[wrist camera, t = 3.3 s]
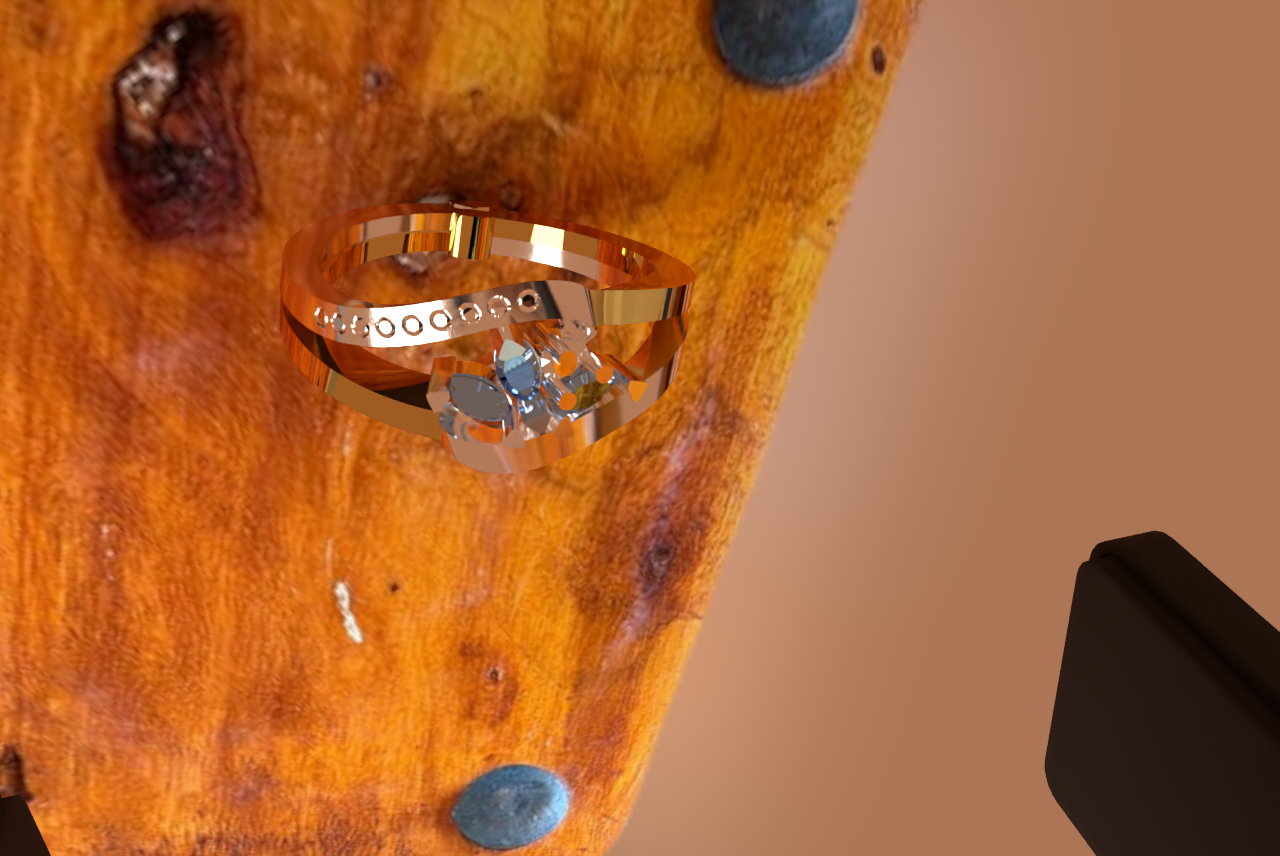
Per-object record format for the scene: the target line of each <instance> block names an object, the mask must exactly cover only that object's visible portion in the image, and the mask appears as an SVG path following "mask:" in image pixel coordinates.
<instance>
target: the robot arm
mask: <svg viewBox="0 0 1280 856" xmlns="http://www.w3.org/2000/svg"><path fill="white" fill-rule="evenodd" d="M1045 773H1046V778H1047V782H1048V785H1049V788H1050V790H1051V792H1052V795H1053V796H1054V798H1055V800H1056V801H1057V803H1058V804H1059V806H1060V807H1061V808H1062V809H1063V811H1064V812H1065V814H1066V815H1067V816H1068V818H1069V819H1070V821H1071V822H1072V823H1073V824H1074V826H1075V827H1076V829H1077V830H1078V831H1079V833H1080V834H1081V835H1082V837H1083V838H1084V839H1085V841H1086V842H1087V844H1088V845H1089V846H1090V848H1091V849H1092V850H1093V852H1094V853H1095V854H1096V856H1280V632H1279V631H1278V630H1277V629H1276V628H1274V627H1273V626H1272V625H1271V624H1270V623H1269V622H1268V621H1266V620H1265V619H1264V618H1263V617H1262V616H1261V615H1260V614H1258V613H1257V612H1256V611H1255V610H1254V609H1253V608H1252V607H1250V606H1249V605H1248V604H1247V603H1246V602H1245V601H1244V600H1242V599H1241V598H1240V597H1239V596H1238V595H1237V594H1236V593H1235V592H1233V591H1232V590H1231V589H1230V588H1229V587H1228V586H1227V585H1225V584H1224V583H1223V582H1222V581H1221V580H1220V579H1219V578H1217V577H1216V576H1215V575H1214V574H1213V573H1212V572H1210V571H1209V570H1208V569H1207V568H1206V567H1205V566H1204V565H1203V564H1201V563H1200V562H1199V561H1198V560H1197V559H1196V558H1195V557H1193V556H1192V555H1191V554H1190V553H1189V552H1188V551H1187V550H1186V549H1184V548H1183V547H1182V546H1181V545H1180V544H1179V543H1178V542H1176V541H1175V540H1174V539H1173V538H1171V537H1170V536H1168V535H1167V534H1165V533H1163V532H1159V531H1151V532H1146V533H1142V534H1137V535H1132V536H1127V537H1123V538H1118V539H1113V540H1109V541H1104V542H1101V543H1098V544H1097V545H1096V546H1095V548H1094V549H1093V550H1092V553H1091V556H1090V559H1089V561H1086V562H1083V563H1082V564H1081V566H1080V567H1079V569H1078V573H1077V577H1076V583H1075V589H1074V594H1073V600H1072V606H1071V612H1070V617H1069V624H1068V629H1067V636H1066V641H1065V647H1064V653H1063V658H1062V664H1061V670H1060V676H1059V682H1058V687H1057V693H1056V700H1055V705H1054V711H1053V716H1052V722H1051V729H1050V734H1049V740H1048V746H1047V751H1046V757H1045ZM0 856H51V855H50V853H49V851H48V849H47V846H46V844H45V842H44V840H43V838H42V836H41V834H40V831H39V829H38V827H37V825H36V823H35V821H34V819H33V816H32V814H31V812H30V810H29V808H28V806H27V804H26V802H25V801H24V799H23V798H22V797H20V796H19V795H14V796H9V797H4V798H2V797H1V795H0Z"/></svg>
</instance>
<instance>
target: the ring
mask: <svg viewBox="0 0 1280 856" xmlns="http://www.w3.org/2000/svg"><path fill="white" fill-rule="evenodd" d="M419 251H448V254H449V255H452V256H455V257H459V258H466V259H478V260H483V259H489V258H490V254H494V255H501V256H509V257H515V258H521V259H526V260H531V261H536V262H541V263H545V264H549V265H553V266H557V267H561V268H564V269H567V270H571V271H574V272H577V273H580V274H582V275H585V276H588V277H590V278H593V279H595V280H597V281H600V282H602V283H604V284H606V285H608V286H610V287H609V288H606V289H602V290H588V289H587V288H586V287H584V286H582V285H580V284H577V283H574V282H569V281H558V280H546V281H533V282H525V283H518V284H512V285H507V286H502V287H497V288H493V289H488V290H483V291H479V292H474V293H470V294H465V295H461V296H456V297H451V298H445V299H440V300H434V301H428V302H421V303H413V304H399V305H386V304H374V303H368V302H363V301H360V300H356V299H354V298H351V297H349V296H347V295H345V294H343V293H341V292H340V291H338V290H337V289H336V288H334V287H333V286H332V285H333V284H334V283H335V282H336V281H337V280H338V279H339V278H340V277H341V276H342V275H344V274H345V273H347V272H348V271H350V270H351V269H353V268H355V267H357V266H359V265H361V264H363V263H366V262H368V261H371V260H374V259H377V258H381V257H385V256H389V255H395V254H401V253H408V252H419ZM695 279H696V274H695V273H694V271H693V270H692V269H691V268H690V267H689V266H687V265H686V264H684V263H683V262H681V261H680V260H678V259H676V258H674V257H672V256H670V255H668V254H666V253H664V252H662V251H660V250H657V249H655V248H653V247H650V246H648V245H645V244H643V243H640V242H637V241H634V240H632V239H629V238H626V237H623V236H620V235H616V234H613V233H610V232H606V231H603V230H599V229H596V228H592V227H588V226H584V225H580V224H576V223H572V222H567V221H563V220H558V219H553V218H548V217H543V216H538V215H532V214H526V213H520V212H514V211H507V210H500V209H493V208H491V205H490V204H487V203H483V202H478V201H471V200H450V204H439V203H409V204H391V205H380V206H372V207H365V208H359V209H354V210H349V211H345V212H341V213H338V214H334V215H331V216H328V217H325V218H323V219H320V220H318V221H316V222H313V223H311V224H309V225H308V226H306V227H304V228H302V229H301V230H299V231H298V232H297V233H295V234H294V235H293V236H292V237H291V238H290V239H289V240H288V242H287V243H286V245H285V247H284V249H283V253H282V264H281V276H280V293H281V295H280V331H281V336H282V339H283V342H284V345H285V347H286V349H287V351H288V353H289V355H290V356H291V358H292V359H293V361H294V362H295V364H296V365H297V366H298V367H299V369H300V370H301V371H302V372H303V373H304V374H305V375H306V376H307V377H308V378H309V379H310V380H311V381H312V382H313V383H314V384H316V385H317V386H318V387H319V388H321V389H322V390H323V391H325V392H326V393H327V394H329V395H330V396H332V397H333V398H335V399H336V400H338V401H340V402H341V403H343V404H345V405H346V406H348V407H350V408H352V409H354V410H356V411H358V412H360V413H362V414H364V415H366V416H368V417H371V418H373V419H375V420H378V421H380V422H383V423H385V424H388V425H390V426H393V427H396V428H399V429H402V430H405V431H408V432H411V433H415V434H418V435H422V436H425V437H429V438H433V439H437V440H441V441H442V443H443V444H444V446H445V448H446V449H447V450H448V452H449V453H450V454H451V455H452V456H453V457H454V458H455V459H456V460H458V461H459V462H461V463H462V464H464V465H466V466H468V467H470V468H473V469H476V470H479V471H483V472H489V473H517V472H523V471H528V470H532V469H536V468H539V467H542V466H545V465H548V464H551V463H553V462H556V461H558V460H560V459H563V458H565V457H567V456H569V455H571V454H573V453H575V452H577V451H579V450H581V449H583V448H585V447H587V446H588V445H590V444H592V443H594V442H596V441H597V440H599V439H601V438H603V437H604V436H606V435H608V434H609V433H611V432H613V431H614V430H616V429H618V428H619V427H621V426H623V425H624V424H626V423H627V422H629V421H631V420H632V419H634V418H635V417H636V416H638V415H639V414H641V413H642V412H643V411H645V410H646V409H647V408H649V407H650V406H651V405H652V404H653V403H654V402H656V401H657V400H658V399H659V398H660V397H661V396H662V394H663V393H664V392H665V391H666V390H667V389H668V387H669V386H670V384H671V383H672V381H673V380H674V378H675V376H676V374H677V372H678V369H679V366H680V363H681V359H682V354H683V349H684V345H685V340H686V335H687V331H688V326H689V311H688V309H689V308H690V306H691V301H692V295H693V290H694V284H695ZM540 319H551V320H550V321H548V322H547V323H538V324H536V325H535V326H534V328H533V330H532V331H531V332H529V333H527V334H525V333H524V332H523V331H522V330H521V329H520V328H518V325H517V323H519V322H525V321H531V320H540ZM644 322H649V324H650V327H651V333H650V335H649V336H648V338H647V340H646V341H645V343H644V344H643V345H642V346H641V348H640V349H639V350H638V351H637V352H636V353H635V354H634V355H633V356H632V357H631V358H630V359H629V360H628V361H627V362H625V363H624V364H623V363H622V362H621V361H620V360H619V359H617V358H616V357H615V356H613V355H609V354H602V353H598V354H597V353H596V352H595V351H594V350H593V349H592V348H591V347H590V346H589V345H588V344H587V342H589V341H590V340H591V339H592V338H593V337H594V336H595V335H596V333H597V325H620V324H634V323H644ZM485 330H490V334H491V337H492V341H491V352H489V353H488V354H486V355H484V356H483V357H481V358H480V359H478V360H477V361H475V362H471V361H456V358H455V357H439V358H435V359H434V361H433V366H432V370H431V375H428V374H424V373H420V372H416V371H413V370H410V369H407V368H404V367H401V366H398V365H396V364H393V363H391V362H388V361H386V360H384V359H382V358H380V357H378V356H376V355H374V354H372V353H370V352H368V351H367V350H365V349H364V348H362V347H361V346H371V347H392V346H406V345H415V344H423V343H429V342H435V341H441V340H446V339H451V338H455V337H460V336H464V335H468V334H472V333H476V332H481V331H485ZM540 385H541V386H540ZM472 418H475V419H478V420H483V421H503V424H502V425H484V424H480V423H478V422H476V421H474V420H473V419H472Z"/></svg>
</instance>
